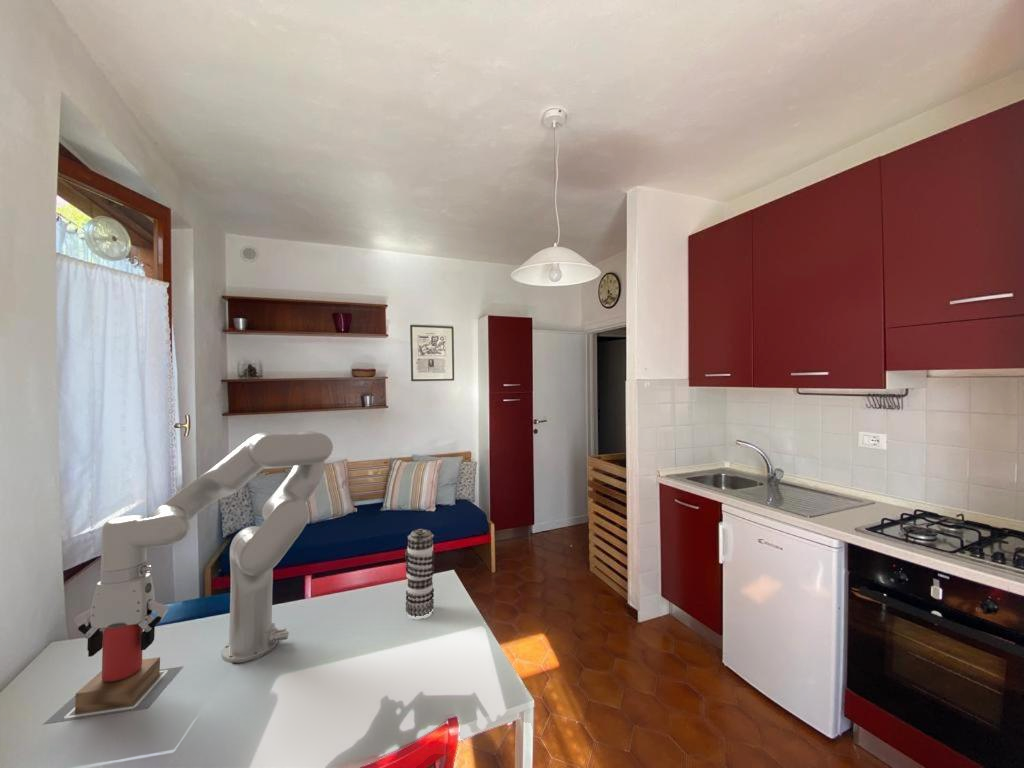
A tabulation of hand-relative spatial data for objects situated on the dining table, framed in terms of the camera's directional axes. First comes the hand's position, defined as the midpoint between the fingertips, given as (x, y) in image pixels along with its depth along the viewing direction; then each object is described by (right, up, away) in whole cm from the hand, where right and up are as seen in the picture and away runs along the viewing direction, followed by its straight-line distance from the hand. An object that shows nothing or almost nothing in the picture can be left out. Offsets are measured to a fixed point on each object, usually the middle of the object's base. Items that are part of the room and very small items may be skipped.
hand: (121, 649), depth 92 cm
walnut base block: (0, -9, 0) cm, 9 cm away
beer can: (0, -6, 0) cm, 6 cm away
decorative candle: (+59, -11, +35) cm, 70 cm away
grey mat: (0, -10, 0) cm, 10 cm away
